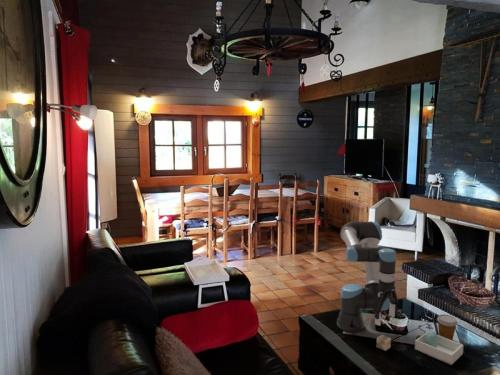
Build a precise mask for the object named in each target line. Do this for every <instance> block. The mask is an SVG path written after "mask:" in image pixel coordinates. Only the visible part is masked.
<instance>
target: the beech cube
mask: <svg viewBox="0 0 500 375" xmlns="http://www.w3.org/2000/svg"><path fill="white" fill-rule="evenodd" d="M391 344H392V338H391V337H388V336H387V335H384V334H381V335H379V336H377V337H376V346H375V347H376V348H378V349H380V350H382V351H385V352H386V351H388V350H389V349H390V348H391V346H392V345H391Z"/></svg>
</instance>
